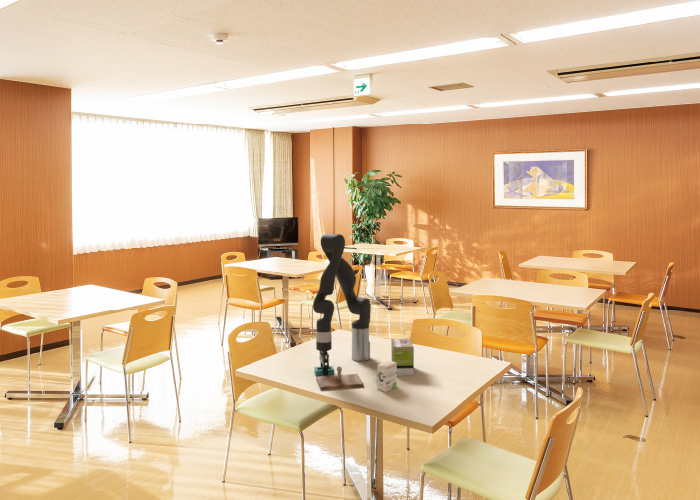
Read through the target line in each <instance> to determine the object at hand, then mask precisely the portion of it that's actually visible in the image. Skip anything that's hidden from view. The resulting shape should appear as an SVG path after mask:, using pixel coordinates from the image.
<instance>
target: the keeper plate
mask: <svg viewBox="0 0 700 500" xmlns="http://www.w3.org/2000/svg"><path fill="white" fill-rule="evenodd" d="M336 371H337V373H336V374H334V376H320V377H316V376H315V381H316V383H317V385H318V387H319V389H320V391H324V390H325V391H326V390H327V391H328V390H340V389H352V388H353V389H354V388H362V387H363V388H364V384H365V383H364V382H363V381H362V379H361V377H360V376H359V375H358V373H351V374H342V371H343V368H342V366H337V367H336Z"/></svg>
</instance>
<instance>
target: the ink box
mask: <svg viewBox="0 0 700 500" xmlns="http://www.w3.org/2000/svg"><path fill="white" fill-rule="evenodd" d="M376 367H377V369H376V370H377V371H376V373H377V374H376V376H377V378H376V382H377V385H376V386H377V387H376V389H377V390H379V391H382V392H388V391H390V390H392V389H395V388H397V378H398V377H397V363H396V362H393V361H392V360H386V361H384V362H381V363H378V364H377V365H376Z"/></svg>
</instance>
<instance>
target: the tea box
mask: <svg viewBox="0 0 700 500" xmlns="http://www.w3.org/2000/svg"><path fill="white" fill-rule="evenodd" d="M390 345H391V348H390V349H391V361H393V362H396V363H397V376H399V377H401V375H404V376H414V373H415V369H414V365H415V363H414V361H415V359H414V358H415V357H414V354H415V353H414V352H415V350H414V349H415V348H414V345H413V343H412V341H411V338H391V344H390Z"/></svg>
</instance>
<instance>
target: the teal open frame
mask: <svg viewBox="0 0 700 500" xmlns="http://www.w3.org/2000/svg"><path fill="white" fill-rule="evenodd" d="M313 370H314V371H313V372H314V376H315V378H316V377H320V376H334V375H335V368H334V367H333V365H329V367H328V375H323V367H321V366H315V367H314V369H313Z"/></svg>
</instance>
